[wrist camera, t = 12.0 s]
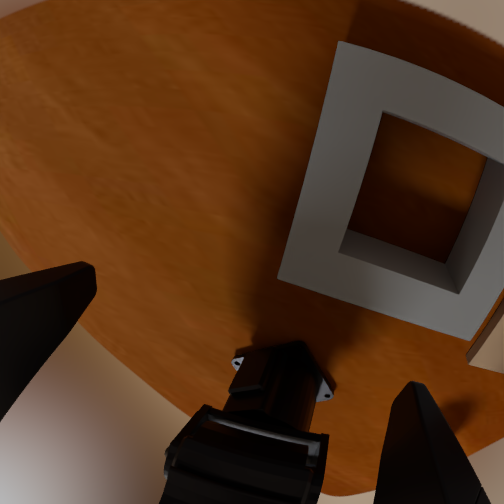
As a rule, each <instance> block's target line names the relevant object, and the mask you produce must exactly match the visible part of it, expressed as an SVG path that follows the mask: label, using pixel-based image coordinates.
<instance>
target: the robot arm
mask: <svg viewBox="0 0 504 504" xmlns="http://www.w3.org/2000/svg"><path fill="white" fill-rule="evenodd" d="M96 292H97V284H96V274H95V268H94V266H92V265H91V264H88V263H86V262H84V261H80V262H76V263H71V264H67V265H62V266H58V267H54V268H49V269H45V270H41V271H36V272H32V273H28V274H24V275H19V276H15V277H11V278H7V279H3V280H0V422H1V420H2V419H3V417H4V416H5V415H6V413H7V412H8V410H9V409H10V408H11V406H12V405H13V404H14V402H15V401H16V399H17V398H18V397H19V395H20V394H21V393H22V391H23V390H24V389H25V387H26V386H27V385H28V384H29V382H30V381H31V380H32V378H33V377H34V376H35V375H36V373H37V372H38V371H39V369H40V368H41V367H42V366H43V364H44V363H45V362H46V361H47V359H48V358H49V357H50V356H51V354H52V353H53V352H54V351H55V350H56V348H57V347H58V346H59V345H60V343H61V342H62V341H63V340H64V339H65V337H66V336H67V335H68V333H69V332H70V331H71V329H72V328H73V327H74V325H75V324H76V322H77V321H78V319H79V318H80V317H81V315H82V314H83V312H84V311H85V309H86V308H87V307H88V305H89V304H90V302H91V301H92V300H93V298H94V297H95V295H96ZM297 347H301V348H297ZM237 361H238V362H237ZM232 365H233V366H234V367H235V369H236V370H237V373H236V375H235V377H234V379H233V381H232V383H231V385H230V387H229V390H228V392H229V394H230V396H229V398H228V400H227V402H226V404H225V406H224V408H223V410H218V409H215V408H212V406H210V405H206V404H204V405H203V406H202V407H201V408H200V410H199V411H197V412H196V413H195V414H194V416H193V417H192V418H191V419H190V421H189V422H188V423H187V424H186V425H185V426H184V428H183V429H182V430H181V431H180V433H179V434H178V435H177V436H176V437H175V438H174V440H173V441H172V442H171V443H170V446H169V447H168V448H167V449H166V451H165V456H166V461H165V465H164V476H165V478H166V479H167V482H166V485H165V488H164V492H163V495H162V497H161V500H160V502H159V504H317V501H318V498H319V495H320V492H321V488H322V484H323V480H324V474H325V466H326V459H327V451H328V443H329V434H323V433H321V434H316V433H311V432H309V429H310V425H311V421H312V416H313V412H314V408H315V403H316V402H319V401H324V400H329V399H332V398H333V396H334V391H333V389H332V387H331V386H330V384H329V382H328V381H327V379H326V377H325V376H324V374H323V372H322V371H321V369H320V367H319V366H318V364H317V362H316V361H315V359H314V357H313V356H312V354H311V352H310V351H309V349H308V347H307V345H306V344H305V343H304V342H302V341H294V342H291V343H287V344H283V345H279V346H275V347H269V348H265V349H261V350H257V351H252V352H248V353H246V354H242V355H237V356H234V358H233V359H232ZM373 504H491V503H490V500H489V499H488V497H487V495H486V493H485V491H484V489H483V487H481V483H480V481H479V479H478V477H477V475H476V473H475V471H474V469H473V467H472V466H471V464H470V462H469V460H468V458H467V456H466V454H465V453H464V451H463V449H462V447H461V445H460V443H459V442H458V440H457V438H456V436H455V435H454V433H453V431H452V429H451V428H450V426H449V424H448V422H447V421H446V419H445V417H444V416H443V414H442V412H441V411H440V409H439V407H438V405H437V404H436V402H435V400H434V399H433V397H432V396H431V394H430V392H429V391H428V389H427V387H426V386H425V385H424V384H422V383H419V382H415V381H410V382H409V383H408V384H407V385H406V386H405V387H404V388H403V390H402V391H401V392H400V393H399V395H398V396H397V397H396V398H395V400H394V401H393V404H392V407H391V412H390V417H389V422H388V427H387V431H386V436H385V440H384V445H383V449H382V454H381V459H380V466H379V473H378V479H377V486H376V492H375V497H374V503H373Z"/></svg>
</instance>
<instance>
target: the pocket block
mask: <svg viewBox="0 0 504 504" xmlns="http://www.w3.org/2000/svg"><path fill="white" fill-rule="evenodd" d="M382 112H384V113H386V114H389V115H392V116H395V117H398V118H400V119H403V120H406V121H408V122H411V123H413V124H416V125H418V126H421V127H423V128H426V129H428V130H431V131H433V132H435V133H438V134H440V135H442V136H444V137H447V138H449V139H451V140H453V141H455V142H458V143H460V144H462V145H464V146H466V147H468V148H470V149H472V150H474V151H476V152H478V153H480V154H482V155H484V156H486V157H488V158H487V161H486V165H485V168H484V171H483V174H482V176H481V179H480V182H479V185H478V188H477V191H476V193H475V196H474V199H473V201H472V204H471V206H470V209H469V211H468V214H467V216H466V219H465V221H464V223H463V226H462V228H461V230H460V233H459V235H458V237H457V239H456V242H455V244H454V246H453V248H452V250H451V253H450V255H449V257H448V259H447V261H446V263H445V264H444V263H441V262H438V261H436V260H433V259H430V258H428V257H425V256H422V255H420V254H417V253H414V252H412V251H409V250H406V249H403V248H401V247H398V246H395V245H392V244H389V243H387V242H384V241H381V240H378V239H375V238H372V237H370V236H367V235H364V234H361V233H358V232H355V231H352V230H349V229H347V226H348V223H349V220H350V217H351V214H352V211H353V208H354V205H355V202H356V199H357V196H358V193H359V190H360V187H361V184H362V180H363V177H364V174H365V171H366V167H367V164H368V161H369V157H370V154H371V151H372V147H373V144H374V140H375V137H376V133H377V130H378V126H379V122H380V119H381V115H382ZM277 279H279V280H282V281H285V282H288V283H291V284H294V285H297V286H300V287H303V288H306V289H309V290H312V291H315V292H318V293H321V294H324V295H327V296H330V297H333V298H336V299H339V300H342V301H345V302H348V303H351V304H355V305H358V306H361V307H364V308H367V309H370V310H373V311H376V312H379V313H382V314H385V315H389V316H392V317H395V318H398V319H401V320H404V321H407V322H410V323H414V324H417V325H420V326H423V327H426V328H429V329H433V330H436V331H439V332H442V333H445V334H449V335H452V336H455V337H458V338H462V339H465V340H468V341H470V340H471V339H472V337H473V336H474V334H475V333H476V331H477V330H478V328H479V327H480V325H481V324H482V322H483V321H484V319H485V318H486V316H487V315H488V313H489V311H490V310H491V308H492V306H493V305H494V303H495V301H496V300H497V298H498V296H499V295H500V293H501V291H502V289H503V288H504V107H502V106H501V105H499V104H497V103H495V102H494V101H492V100H490V99H488V98H486V97H485V96H483V95H481V94H479V93H477V92H475V91H473V90H471V89H469V88H467V87H465V86H463V85H461V84H459V83H457V82H455V81H452V80H450V79H448V78H446V77H444V76H441V75H439V74H437V73H434V72H432V71H429V70H427V69H425V68H422V67H420V66H417V65H414V64H412V63H409V62H406V61H404V60H401V59H398V58H395V57H392V56H389V55H386V54H383V53H380V52H377V51H374V50H371V49H367V48H364V47H361V46H357V45H353V44H350V43H346V42H342V41H338V45H337V50H336V54H335V58H334V63H333V67H332V71H331V75H330V80H329V84H328V88H327V92H326V96H325V100H324V104H323V108H322V113H321V117H320V121H319V125H318V129H317V133H316V136H315V140H314V144H313V148H312V152H311V156H310V160H309V164H308V167H307V171H306V175H305V179H304V183H303V186H302V190H301V194H300V197H299V201H298V205H297V209H296V212H295V216H294V219H293V223H292V227H291V230H290V234H289V237H288V241H287V245H286V248H285V252H284V255H283V259H282V262H281V266H280V269H279V273H278V276H277Z"/></svg>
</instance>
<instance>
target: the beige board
mask: <svg viewBox="0 0 504 504" xmlns="http://www.w3.org/2000/svg"><path fill="white" fill-rule="evenodd" d="M466 358H467V361H468V364H469V365H472V366H476V367H480V368H484V369H488V370H492V371H496V372H500V373H504V299H503V300H502V302H501V304H500V305H499V307H498V309H497V310H496V312H495V313H494V315H493V317H492V318H491V320H490V321H489V323H488V324H487V326H486V327H485V329H484V330H483V332H482V333H481V335H480V336H479V338H478V339H477V341H476V342H475V343H474V345H473V346H472V348H471V349H470V350H469V352H468V353H467V354H466Z"/></svg>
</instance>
